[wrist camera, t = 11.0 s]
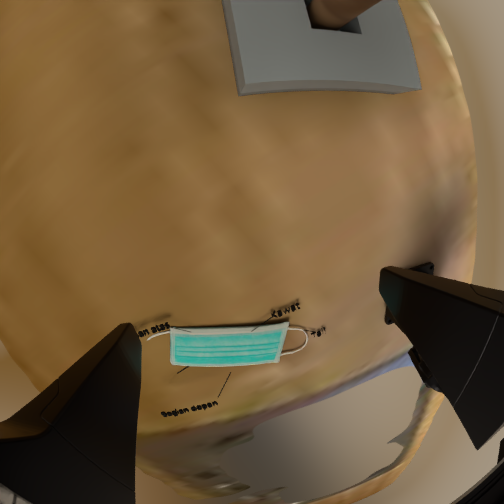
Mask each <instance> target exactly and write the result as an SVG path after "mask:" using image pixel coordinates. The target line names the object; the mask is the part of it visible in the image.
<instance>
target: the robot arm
mask: <svg viewBox="0 0 504 504" xmlns="http://www.w3.org/2000/svg"><path fill="white" fill-rule="evenodd" d="M433 271H434V264H433V263H431V262H429V263H426V264H423V265H420V266H417V267H414V268H410V269H403V268H399V267H394V266H388V267H384V268H382V269H381V271H380V281H379V292H380V294H381V296H382V298H383V299H384V301H385V303H386V304H387V308H386V315H385V323H386V324H387V325H390V324H392V323H395V324H396V325H397V326H398V327H399V329H400V330H401V331H402V332H403V333H404V334H406V336H407V337H408V339H409V340H410V342H411V343H412V344H413V347H412V348H411V349H410V350H409V351H408V354H409V356H410V357H411V360H412V362H413V364H414V366H415V368H416V369H417V371H418V373H419V375H420V377H421V379H422V381H423V382H424V383H425V385H426V387H428V388H432V389H434V390H436V391H438V392H442V393H443V394H444V395H445V396H446V397H447V398H448V400H449V401H450V403H451V405H452V406H453V408H454V410H455V412H456V414H457V415H458V417H459V419H460V421H461V422H462V424H463V426H464V428H465V429H466V431H467V433H468V435H469V437H470V439H471V441H472V443H473V445H474V446H475V448H476V449H477V450H479V449H480V448H481V447H482V446H483V445H484V444H485V443H487V442H488V441H489V440H490V439H491V438H492V437H493V436H494V435H495V434H496V433H497V432H498V431H499V430H500V429H501V428H502V427H503V426H504V291H502V290H496V289H491V288H486V287H482V286H477V285H473V284H468V283H465V282H460V281H456V280H452V279H447V278H443V277H439V276H434V275H433ZM141 353H142V345H141V341H140V339H139V337H138V335H137V333H136V331H135V328H134V326H133V325H132V324H131V323H123V324H120V325H118V326H117V327H116V328H115V329H114V330H112V331H111V332H110V333H109V334H108V335H107V336H105V337H104V338H103V339H102V340H101V341H100V342H98V343H97V344H96V345H95V346H94V347H93V348H91V349H90V350H89V351H88V352H87V353H86V354H85V355H83V356H82V357H81V358H80V359H79V360H78V361H77V362H75V363H74V364H73V365H72V366H71V367H70V368H69V369H67V370H66V371H65V372H64V373H63V374H62V375H61V376H60V377H59V378H58V379H56V380H55V381H54V382H53V383H52V384H51V385H49V386H48V387H47V388H46V389H45V390H44V391H43V392H41V393H40V394H39V395H38V396H37V397H35V398H34V399H33V400H32V401H30V402H29V403H28V404H26V405H25V406H24V407H23V408H21V409H20V410H19V411H18V412H16V413H15V414H14V415H13V416H11V417H10V418H8V419H7V420H5V421H2V422H0V504H135V492H134V491H135V456H136V435H137V421H138V409H139V399H140V389H141ZM451 504H504V438H503V439H502V440H501V441H500V449H499V455H498V462H497V465H496V466H495V467H494V468H493V469H492V470H491V471H490V472H489V473H487V475H485V476H484V477H483V478H482V479H481V480H480V481H478V482H477V483H476V484H475V485H474V486H473V487H472V488H470V489H469V490H468V491H466V492H465V493H464V494H463V495H461V496H460V497H459V498H457V499H456V500H455V501H454V502H452V503H451Z"/></svg>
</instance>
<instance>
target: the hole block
mask: <svg viewBox="0 0 504 504" xmlns="http://www.w3.org/2000/svg"><path fill="white" fill-rule="evenodd" d="M311 1H312V0H222V5H223V10H224V16H225V22H226V27H227V33H228V38H229V44H230V50H231V56H232V61H233V67H234V73H235V79H236V85H237V91H238V96H244V95H252V94H262V93H273V92H288V91H318V90H331V91H361V92H375V93H386V94H397V93H403V92H409V91H416V90H422V88H421V83H420V78H419V73H418V68H417V64H416V59H415V55H414V51H413V47H412V44H411V40H410V37H409V33H408V30H407V27H406V24H405V21H404V18H403V15H402V12H401V9H400V6H399V4H398V1H397V0H382V1H380V2H379V3H377V4H375V5H374V6H372V7H371V8H369V9H368V10H366V11H365V12H363V13H362V14H360V15H359V16H357V17H356V18H354V19H353V20H351V21H350V22H349V23H347V24H346V25H344V26H343V27H342V28H340V29H339V30H338V31H333V30H322V29H312V28H311V24H310V21H309V17H308V13H307V9H306V7H307V6H308V5H309V4H310V2H311Z"/></svg>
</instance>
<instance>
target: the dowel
mask: <svg viewBox="0 0 504 504" xmlns="http://www.w3.org/2000/svg"><path fill="white" fill-rule="evenodd" d="M380 1H382V0H312V1H311V2H310V4H309V5H308V6H307V7H306V9H307V13H308V17H309V21H310V24H311V28H312V29H322V30H333V31H338V30H339V29H340V28H342V27H343V26H344V25H346V24H347V23H349V22H350V21H351V20H353V19H354V18H356V17H357V16H359V15H360V14H362V13H363V12H365V11H366V10H368V9H369V8H371V7H372V6H374V5H375V4H377V3H379V2H380Z"/></svg>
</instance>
